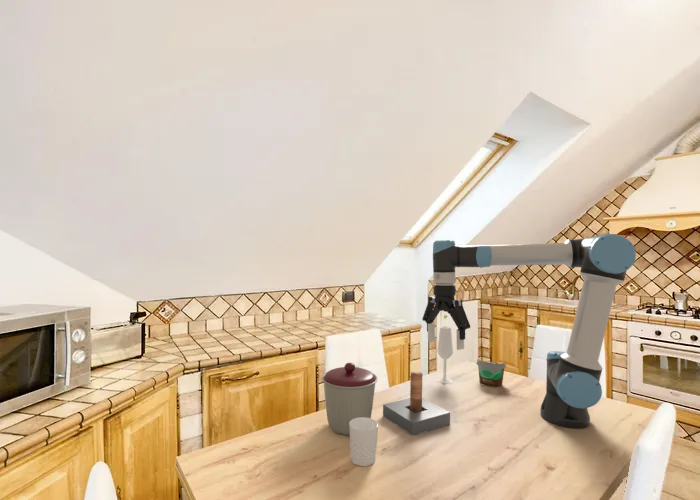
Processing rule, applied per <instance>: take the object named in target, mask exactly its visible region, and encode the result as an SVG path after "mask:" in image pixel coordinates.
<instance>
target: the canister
mask: <svg viewBox="0 0 700 500" xmlns="http://www.w3.org/2000/svg"><path fill="white" fill-rule="evenodd" d="M321 380H322V382H323V387H324V390H323V391H324V399H325V401H324V402H325V411H326V418H327V423H328V426H329V428H330V430H332V431H333V432H334V433H336V434H339V435H344V436H350V430H349V423H350V421H351V420H352V419H355V418H360V417H366V418H371V419H372V414H373V413H372V412H373V411H372V410H373V406H374V397H375V389H376V383H377V382H378V380H379V379H378V376H377V375H376V374H375V373H373V372H372V371H370V370H368V369H366V368H362V367H358V366H356V365H355V364H354V363H353V362H346V363H345V365H344V366H342V367H336V368H332V369H330V370H328V371H327V372H325V373H323V374H322V375H321Z"/></svg>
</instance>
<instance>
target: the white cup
mask: <svg viewBox="0 0 700 500" xmlns="http://www.w3.org/2000/svg"><path fill="white" fill-rule="evenodd" d="M378 427H379V423H378V421H376V420H375V419H374V418H372V417H371V418H366V417H360V418H355V419H352V420H351V421H350V423H349V430H350V435H349V447H350V448H349V449H350V462H352V464H354V465H356V466H358V467H359V466H360V467H368V466H372V465H373V464H374V463H375V462H376V451H377V445H378V443H377V442H378Z"/></svg>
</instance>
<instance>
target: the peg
mask: <svg viewBox="0 0 700 500" xmlns="http://www.w3.org/2000/svg"><path fill="white" fill-rule="evenodd" d="M423 375H424V374H423V373H422V372H421V371H415V370H414V371H411V372H410V381H409V383H410V385H409V386H410V391H409V398H410V411H412V412H414V413H417V412H421V411H422V398H423Z"/></svg>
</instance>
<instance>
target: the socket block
mask: <svg viewBox="0 0 700 500" xmlns="http://www.w3.org/2000/svg"><path fill="white" fill-rule="evenodd" d="M382 416H383V417H384V418H386V419H387V420H388V421H389V422H392V423H393V424H395V425H396V426H397V427H399V428H401V429H402V430H403V431H405V432H407V434H410V435H411V436H416V435H418V434H422V433H425V432H429V431H432V430H436V429H439V428H443V427H446V426H448V425H449V426H450V425H451V412H450V411H448V410H446V409H444V408H443V407H440V406H438V405H436V404H434V403H433V402H431V401H429V400H426V399H425V398H423V397H422V411H421V412H417V413H414V412H412V411H410V397H408V398H404V399H401V400H396V401H391V402H388V403H383V404H382Z"/></svg>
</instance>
